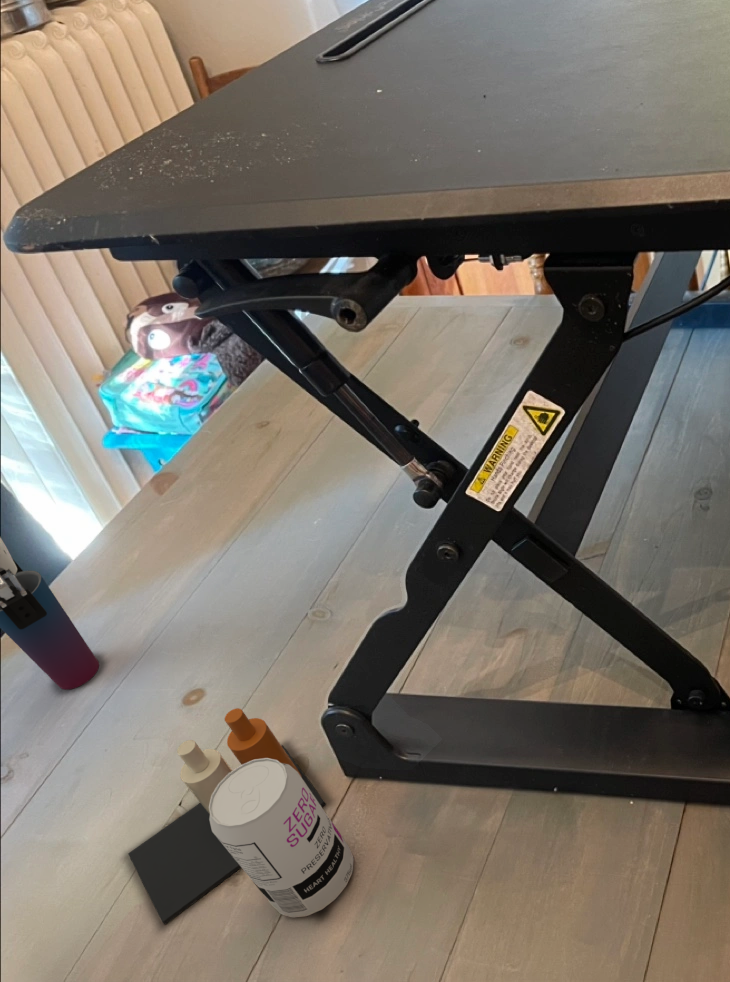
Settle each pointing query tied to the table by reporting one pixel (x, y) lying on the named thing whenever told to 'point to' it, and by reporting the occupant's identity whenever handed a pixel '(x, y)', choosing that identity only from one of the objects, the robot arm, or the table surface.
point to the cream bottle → (202, 770)
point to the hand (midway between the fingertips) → (23, 602)
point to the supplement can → (280, 836)
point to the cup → (52, 637)
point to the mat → (186, 860)
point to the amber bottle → (253, 739)
